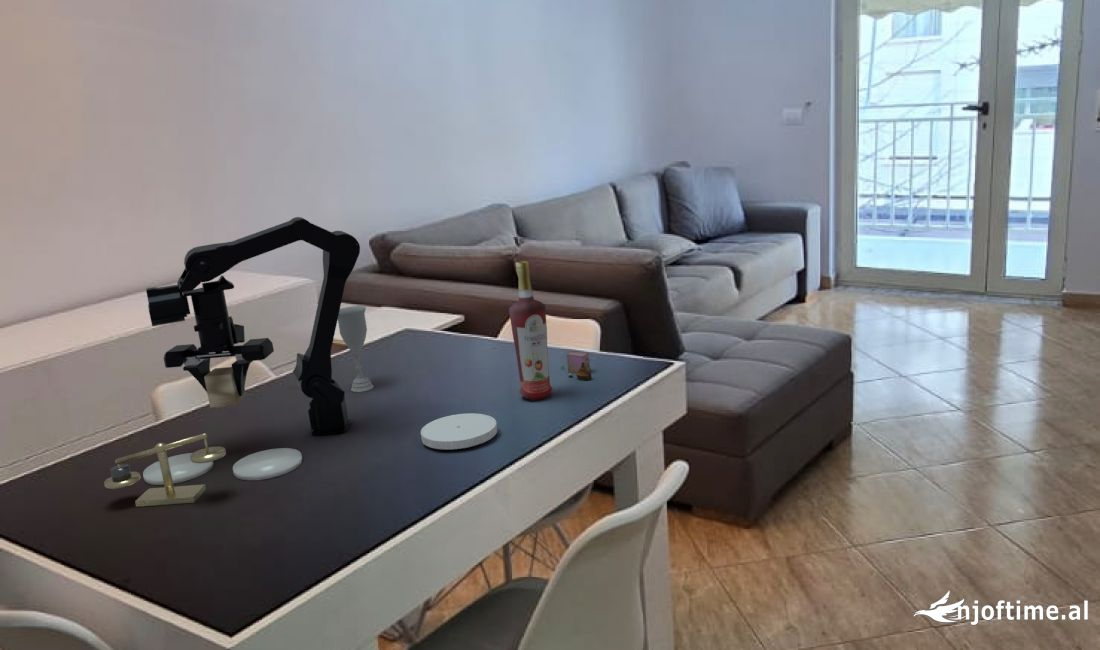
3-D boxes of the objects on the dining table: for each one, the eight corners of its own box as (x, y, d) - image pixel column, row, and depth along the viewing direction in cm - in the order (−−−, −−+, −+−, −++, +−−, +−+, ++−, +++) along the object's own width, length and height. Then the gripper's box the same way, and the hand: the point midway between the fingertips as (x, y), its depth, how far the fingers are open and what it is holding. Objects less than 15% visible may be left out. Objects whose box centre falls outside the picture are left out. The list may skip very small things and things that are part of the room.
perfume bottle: (552, 380, 200) (550, 360, 199) (582, 363, 210) (580, 344, 209) (599, 386, 194) (597, 365, 193) (628, 368, 203) (626, 349, 202)
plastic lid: (406, 445, 171) (405, 432, 171) (463, 420, 181) (461, 408, 180) (457, 460, 162) (455, 447, 161) (513, 434, 172) (512, 421, 171)
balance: (238, 486, 159) (226, 426, 156) (226, 501, 154) (213, 438, 151) (119, 495, 161) (105, 435, 158) (103, 509, 155) (88, 448, 152)
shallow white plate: (310, 450, 172) (309, 445, 172) (290, 477, 161) (289, 472, 161) (247, 455, 173) (246, 450, 173) (223, 482, 162) (222, 477, 161)
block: (246, 396, 176) (240, 366, 174) (236, 405, 171) (230, 374, 170) (220, 398, 176) (214, 368, 175) (210, 407, 172) (204, 376, 170)
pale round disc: (223, 455, 174) (222, 450, 174) (197, 482, 163) (196, 477, 163) (162, 460, 175) (161, 455, 175) (131, 487, 164) (130, 482, 163)
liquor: (526, 405, 185) (511, 268, 178) (513, 395, 192) (498, 263, 185) (560, 397, 188) (546, 261, 181) (545, 388, 195) (532, 257, 187)
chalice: (370, 393, 203) (358, 313, 198) (341, 393, 204) (328, 315, 200) (382, 382, 210) (371, 305, 205) (354, 383, 211) (342, 306, 207)
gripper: (276, 301, 177) (289, 379, 181) (181, 309, 178) (196, 386, 182) (255, 315, 166) (270, 398, 170) (154, 324, 167) (171, 406, 171)
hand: (227, 396), depth 174 cm, fingers closed on block, 5 cm apart
